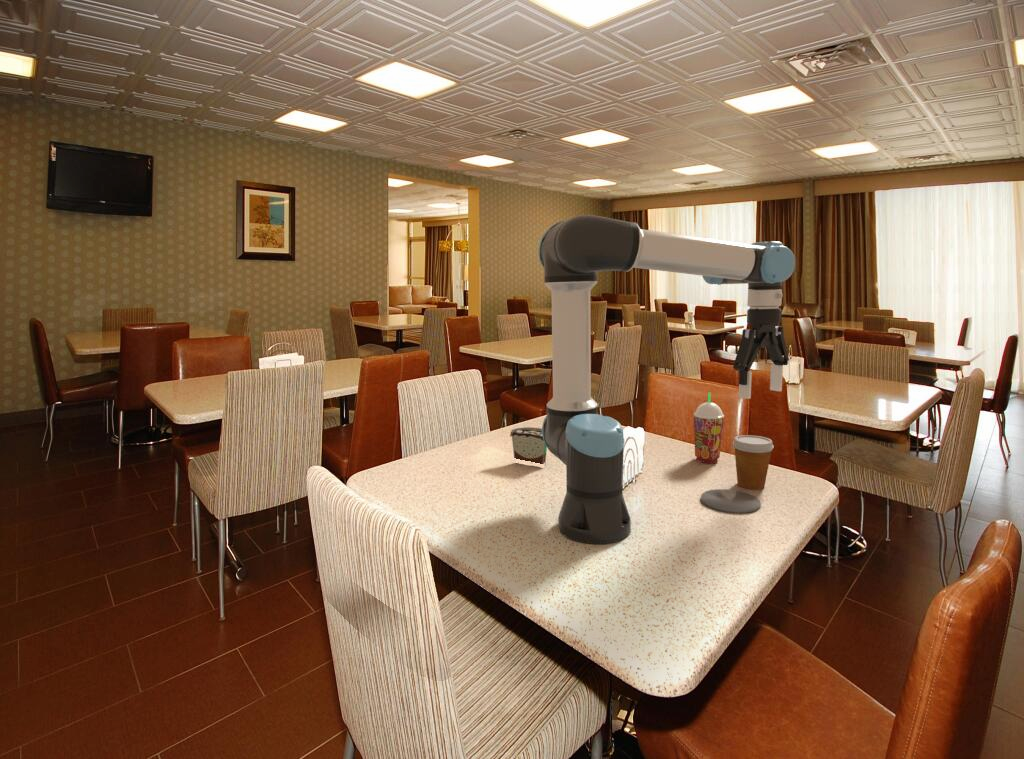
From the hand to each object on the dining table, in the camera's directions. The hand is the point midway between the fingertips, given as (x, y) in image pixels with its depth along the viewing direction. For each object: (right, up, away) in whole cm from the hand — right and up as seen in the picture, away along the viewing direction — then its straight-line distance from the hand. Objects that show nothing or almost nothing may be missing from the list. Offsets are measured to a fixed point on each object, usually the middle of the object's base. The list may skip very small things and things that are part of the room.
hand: (760, 394), depth 138 cm
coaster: (-10, -25, -7) cm, 28 cm away
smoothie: (-5, -20, +25) cm, 32 cm away
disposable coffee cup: (-1, -23, +4) cm, 24 cm away
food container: (-55, -21, +25) cm, 64 cm away
